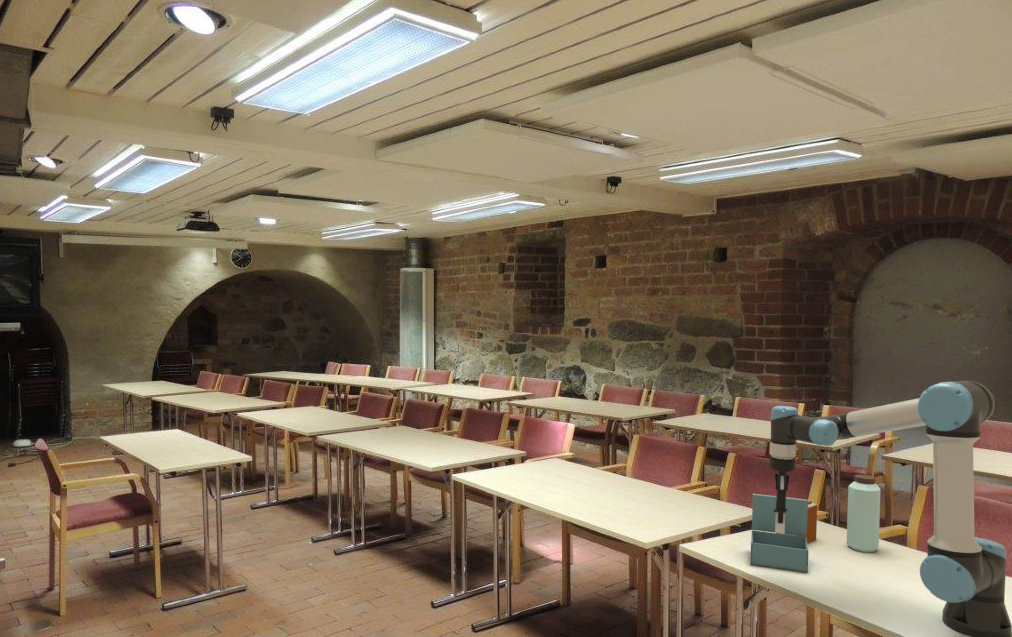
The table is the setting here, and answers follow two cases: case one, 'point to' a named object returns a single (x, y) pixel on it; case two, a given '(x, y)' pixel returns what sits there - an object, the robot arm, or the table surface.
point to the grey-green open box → (779, 551)
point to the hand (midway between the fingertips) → (779, 532)
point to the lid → (766, 516)
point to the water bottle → (863, 514)
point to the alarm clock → (810, 522)
